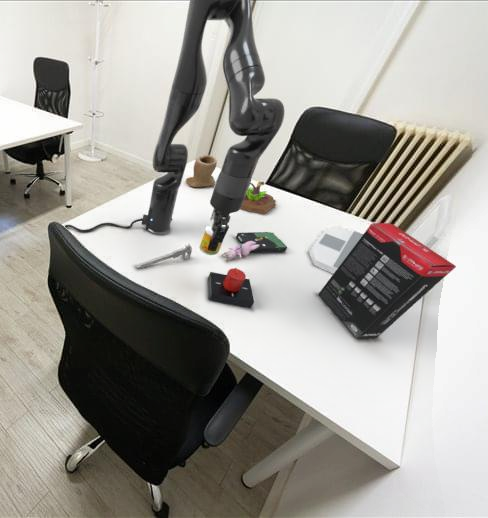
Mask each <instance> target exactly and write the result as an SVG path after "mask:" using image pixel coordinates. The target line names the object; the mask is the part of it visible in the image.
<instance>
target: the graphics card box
mask: <svg viewBox="0 0 488 518" xmlns="http://www.w3.org/2000/svg"><path fill="white" fill-rule="evenodd" d="M362 234H363V236H362V237H361V238H360V240H359V241H358V242H357V244H356V245H355V246H354V248H353V249H352V250H351V252H350V253H349V254H348V256H347V257H346V258H345V260H344V261H343V262H342V263H341V265H340V266H339V267H338V269H337V270H336V271H335V273H334V274H331V276H330V278H329V279H328V280H327V281H326V283H325V285H324V286H323V287H322V289H321V290H320V291H319V292H318V296H319V298H320V299H322V300H323V302H324V303H325V304H326V305H327V306H328V307H329V309H330V310H331V311H332V312H333V313H334V315H335V316H337V318H338V319H339V320H340V321H341V323H342V324H343V325H344V326H345V327H346V328H347V330H348V331H349V332H350V333H351V334H352V335H353V337H354V338H356V339H358V340H359V339H377V338H379V337H380V336H381V335H382V334H384V332H386V331H387V329H389V328H390V327H391V326H392V325H393V324H394V323H395V322H397V321H398V320H399V319H400V318H401V317H402V316H403V315H404V314H405V313H406V312H407V311H409V309H411V308H412V307H413V306H414V305H415V304H417V302H419V301H420V300H421V299H422V298H423V297H424V296H425V295H427V293H429V292H430V291H431V290H432V289H433V288H434V287H435V286H436V285H437V284H438V283H440V282H441V281H442V280H443V279H444V278H445V277H446V276H448V275H449V274H450V273H451V272H452V271H453V270H455V269H456V267H457V266H456V265H455V264H454V263H452V262H450V261H449V260H447V259H446V258H445V257H443V256H441V255H440V254H439V253H437V252H436V251H434V250H432V249H431V248H430V249H429V248H428V247H426V246H425V245H423V244H422V243H420V242H419V241H417V240H416V239H414V238H413V237H411V236H410V235H409V233H407V232H405V230H402V229H401V228H399V227H398V226H397V225H395V224H393V223H389V222H372V223H370V224H369V226H368V227H367V229H366V230H365V231H364V233H362Z"/></svg>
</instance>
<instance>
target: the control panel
mask: <svg viewBox="0 0 488 518" xmlns="http://www.w3.org/2000/svg"><path fill="white" fill-rule="evenodd" d="M226 275H227V274H224V273H220V272H214V271H209V275H208V278H207V286H208V287H207V288H208V301H211V302H216V303H222V304H225V305H232V306H236V307H241V308H245V309H252V307H253V305H254V303H255V298H254V295H253V288H252V285H251V280H250V279H249V278H245V280H244V282H243V284H242V286H241V288H240V290H239V291H237V292H232V291H229V290H227V289H226V288H225V287H224V286H223V282H224V280H225V277H226Z"/></svg>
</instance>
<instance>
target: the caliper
mask: <svg viewBox="0 0 488 518" xmlns="http://www.w3.org/2000/svg"><path fill="white" fill-rule="evenodd" d="M192 252H193V248H192V246H191V244H190V243H188V244H187V245H186V244H185V245H184V247H181V248H179V249H176V250H173V251H172V252H169V253H166V254H164V255H160V256H157V257H154V258H152V259H151V258H150V259H149V260H146V261H143V262H139V264H137V265H135V267H136V268H137V269H143V268H146V267H148V266H149V267H150V266H152V265H154V264H157V263H160V262H161V263H162V262H163V261H167V260H169V259H172V258H173V259H177V258H179V257H181V258H182V259H183V260H186V258H187V259H190V258H191V256H192Z"/></svg>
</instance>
